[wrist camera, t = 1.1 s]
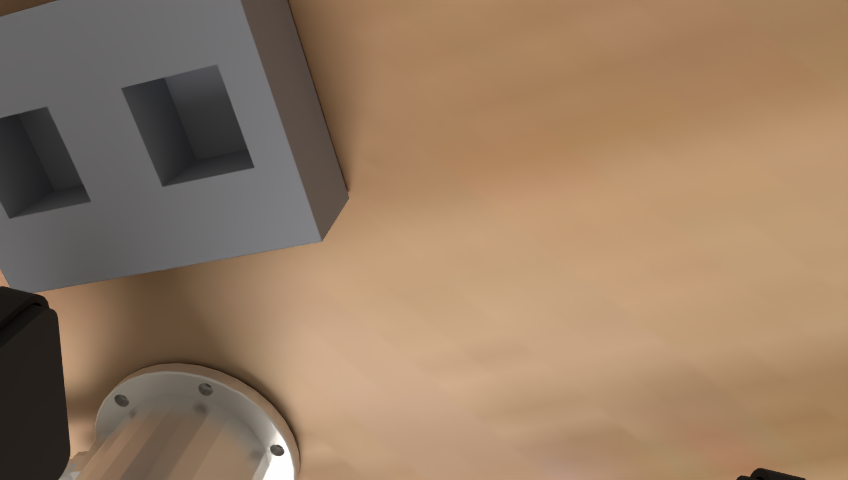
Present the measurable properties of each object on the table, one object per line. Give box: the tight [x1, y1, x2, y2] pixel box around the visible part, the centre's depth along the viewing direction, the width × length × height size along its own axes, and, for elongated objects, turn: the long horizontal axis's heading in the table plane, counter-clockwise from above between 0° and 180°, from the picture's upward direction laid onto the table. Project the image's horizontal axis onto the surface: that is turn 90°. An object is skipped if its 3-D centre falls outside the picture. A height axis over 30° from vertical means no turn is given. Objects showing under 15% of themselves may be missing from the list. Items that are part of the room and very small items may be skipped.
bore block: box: [0, 0, 349, 293], centre depth 33 cm, size 16×12×5 cm
